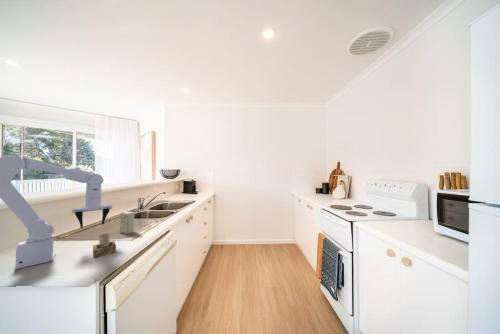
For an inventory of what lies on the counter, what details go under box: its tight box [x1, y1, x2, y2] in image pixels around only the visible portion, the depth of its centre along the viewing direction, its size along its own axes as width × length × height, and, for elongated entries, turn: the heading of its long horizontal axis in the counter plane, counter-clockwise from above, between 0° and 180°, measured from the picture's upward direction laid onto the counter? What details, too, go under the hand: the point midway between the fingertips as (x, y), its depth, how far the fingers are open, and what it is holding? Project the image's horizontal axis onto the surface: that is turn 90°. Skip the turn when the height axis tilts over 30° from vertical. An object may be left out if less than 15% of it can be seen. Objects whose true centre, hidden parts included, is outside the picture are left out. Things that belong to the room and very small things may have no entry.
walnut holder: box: [92, 240, 117, 258], centre depth 79 cm, size 8×8×3 cm
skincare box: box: [119, 210, 135, 235], centre depth 105 cm, size 6×4×12 cm
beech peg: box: [98, 232, 111, 248], centre depth 79 cm, size 4×4×8 cm
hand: (92, 225), depth 84 cm, fingers open, 7 cm apart
